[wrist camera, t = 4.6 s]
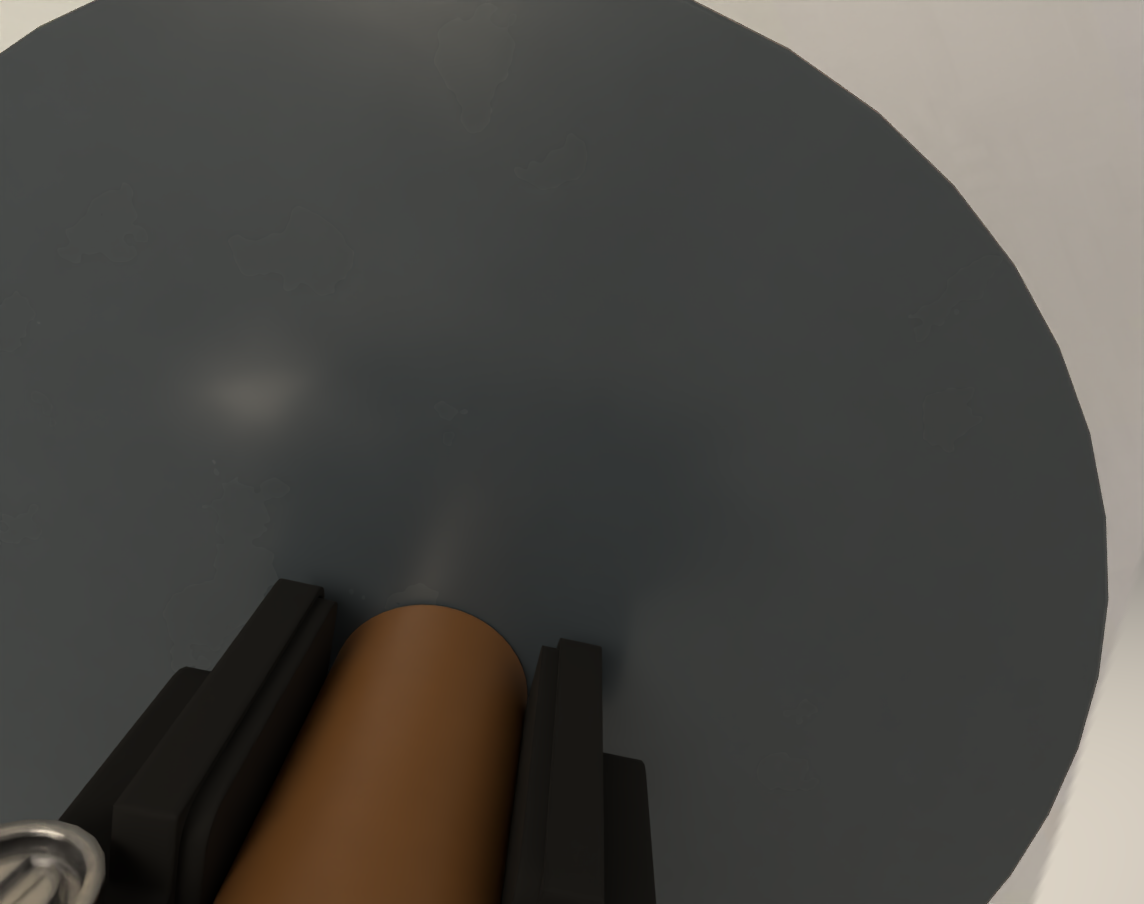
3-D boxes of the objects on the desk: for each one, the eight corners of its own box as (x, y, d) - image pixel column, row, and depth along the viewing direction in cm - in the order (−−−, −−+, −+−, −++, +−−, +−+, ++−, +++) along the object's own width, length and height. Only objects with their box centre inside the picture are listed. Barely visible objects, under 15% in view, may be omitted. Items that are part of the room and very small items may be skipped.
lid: (1308, 165, 10) (2292, 197, 4) (824, 1130, 16) (956, 1697, 10) (-218, -222, 9) (-1650, -867, 3) (-130, 953, 15) (-588, 1464, 9)
